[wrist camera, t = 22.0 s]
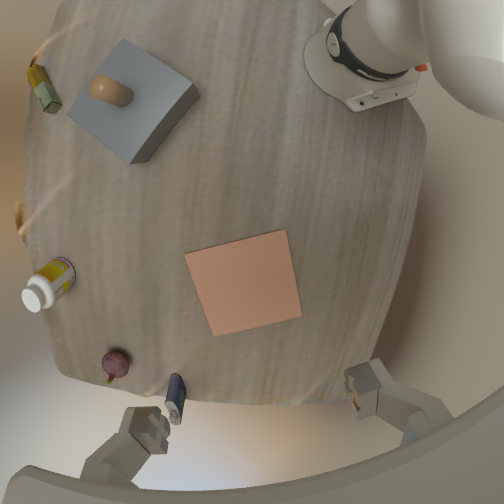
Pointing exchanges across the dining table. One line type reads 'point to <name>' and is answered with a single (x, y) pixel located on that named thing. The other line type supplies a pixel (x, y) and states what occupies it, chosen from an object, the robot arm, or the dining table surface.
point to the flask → (175, 399)
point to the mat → (246, 282)
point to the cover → (133, 102)
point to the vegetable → (115, 365)
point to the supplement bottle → (48, 285)
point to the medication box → (44, 89)
